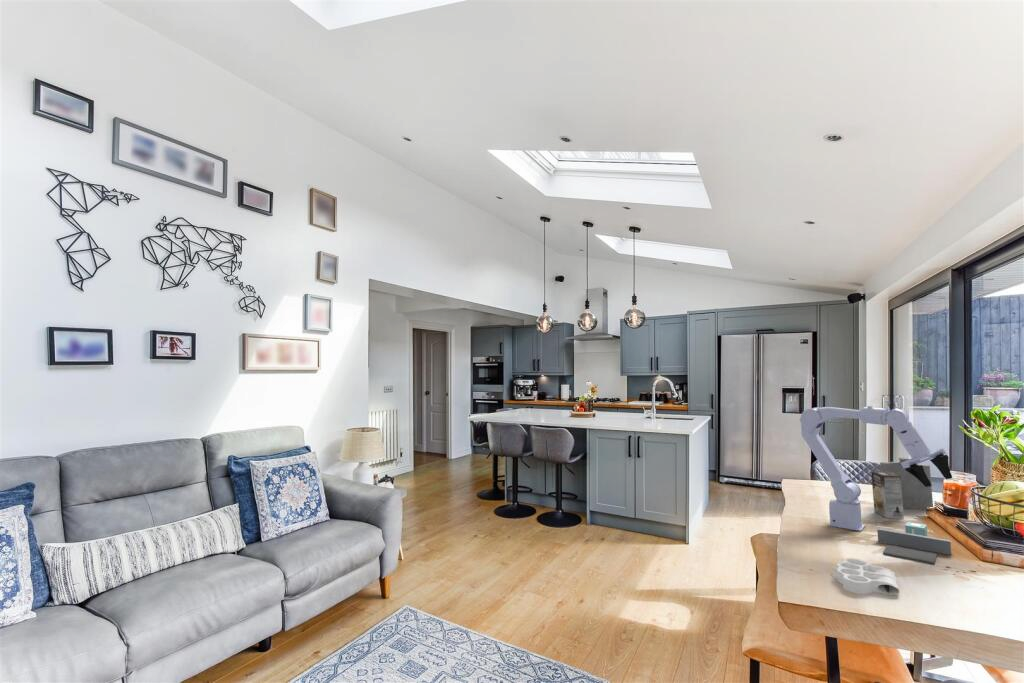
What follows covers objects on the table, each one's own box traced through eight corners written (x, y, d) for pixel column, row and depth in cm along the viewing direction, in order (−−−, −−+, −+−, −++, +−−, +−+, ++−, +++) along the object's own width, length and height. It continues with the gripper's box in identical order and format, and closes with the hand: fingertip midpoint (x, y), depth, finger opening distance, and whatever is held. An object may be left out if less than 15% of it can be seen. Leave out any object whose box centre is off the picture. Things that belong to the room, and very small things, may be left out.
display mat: (883, 554, 150) (882, 552, 150) (887, 546, 156) (887, 544, 156) (934, 564, 141) (933, 562, 141) (937, 555, 147) (936, 553, 148)
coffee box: (873, 511, 193) (870, 470, 194) (891, 511, 191) (888, 470, 192) (886, 518, 184) (882, 475, 185) (905, 519, 182) (901, 475, 183)
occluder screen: (878, 541, 160) (877, 529, 161) (879, 540, 162) (878, 528, 162) (951, 555, 148) (949, 541, 148) (951, 553, 149) (950, 540, 149)
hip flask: (932, 508, 194) (928, 458, 195) (934, 511, 191) (930, 460, 192) (883, 503, 203) (879, 455, 204) (884, 506, 199) (880, 457, 201)
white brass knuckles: (901, 603, 120) (831, 590, 128) (894, 576, 135) (831, 566, 143) (900, 589, 120) (830, 577, 128) (893, 564, 135) (830, 554, 143)
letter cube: (906, 540, 161) (905, 525, 161) (908, 536, 164) (907, 521, 165) (925, 544, 157) (924, 528, 158) (927, 540, 161) (926, 524, 161)
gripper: (902, 447, 159) (928, 488, 154) (941, 433, 160) (968, 473, 155) (888, 451, 165) (912, 490, 160) (925, 437, 166) (951, 476, 161)
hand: (939, 482), depth 158 cm, fingers open, 7 cm apart
